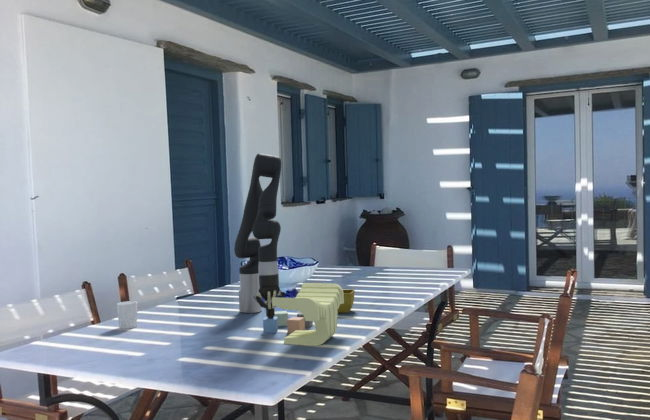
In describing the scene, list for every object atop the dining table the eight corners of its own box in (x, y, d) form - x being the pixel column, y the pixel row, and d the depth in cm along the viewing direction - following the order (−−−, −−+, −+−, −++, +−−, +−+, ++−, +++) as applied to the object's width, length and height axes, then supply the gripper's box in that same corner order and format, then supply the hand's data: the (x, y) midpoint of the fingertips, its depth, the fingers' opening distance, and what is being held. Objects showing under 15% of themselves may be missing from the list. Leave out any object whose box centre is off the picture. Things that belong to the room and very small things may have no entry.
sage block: (275, 326, 234) (275, 314, 234) (274, 323, 239) (274, 311, 239) (288, 325, 235) (287, 313, 235) (287, 323, 240) (286, 310, 240)
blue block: (263, 333, 224) (262, 319, 224) (265, 329, 229) (264, 317, 229) (276, 332, 224) (276, 319, 224) (278, 329, 229) (277, 316, 229)
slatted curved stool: (319, 352, 194) (317, 298, 194) (274, 350, 199) (271, 297, 199) (345, 330, 223) (343, 283, 222) (305, 329, 228) (303, 282, 227)
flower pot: (352, 314, 252) (351, 292, 252) (332, 313, 254) (331, 292, 254) (355, 309, 261) (354, 289, 260) (335, 309, 262) (335, 289, 262)
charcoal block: (297, 327, 232) (296, 314, 232) (300, 324, 237) (300, 311, 237) (309, 327, 231) (309, 314, 231) (312, 324, 236) (312, 311, 236)
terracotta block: (287, 333, 223) (287, 319, 223) (292, 329, 228) (292, 316, 228) (299, 333, 221) (299, 320, 221) (304, 330, 226) (304, 317, 226)
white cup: (119, 330, 238) (118, 305, 237) (116, 326, 245) (115, 302, 244) (139, 327, 241) (138, 303, 241) (136, 324, 248) (135, 300, 248)
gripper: (279, 270, 233) (280, 314, 233) (248, 273, 225) (250, 319, 226) (288, 271, 226) (290, 317, 227) (257, 275, 219) (259, 322, 220)
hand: (270, 318), depth 226 cm, fingers closed
